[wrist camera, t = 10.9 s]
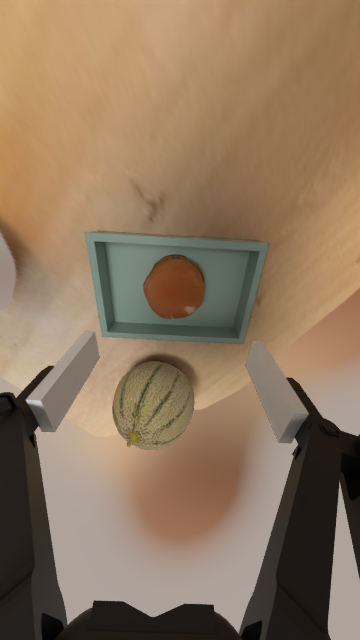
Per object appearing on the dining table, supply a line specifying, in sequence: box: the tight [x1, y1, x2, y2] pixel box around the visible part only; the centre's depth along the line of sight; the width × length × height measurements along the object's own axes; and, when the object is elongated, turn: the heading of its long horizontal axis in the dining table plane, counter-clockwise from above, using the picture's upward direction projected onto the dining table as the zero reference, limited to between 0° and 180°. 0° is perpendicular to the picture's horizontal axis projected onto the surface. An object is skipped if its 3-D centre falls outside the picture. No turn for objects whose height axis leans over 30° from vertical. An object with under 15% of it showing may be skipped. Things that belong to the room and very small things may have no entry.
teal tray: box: [85, 231, 269, 344], centre depth 30 cm, size 16×24×4 cm, turn 87°
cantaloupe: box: [112, 361, 194, 450], centre depth 35 cm, size 15×15×15 cm
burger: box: [143, 254, 205, 319], centre depth 29 cm, size 10×9×5 cm
